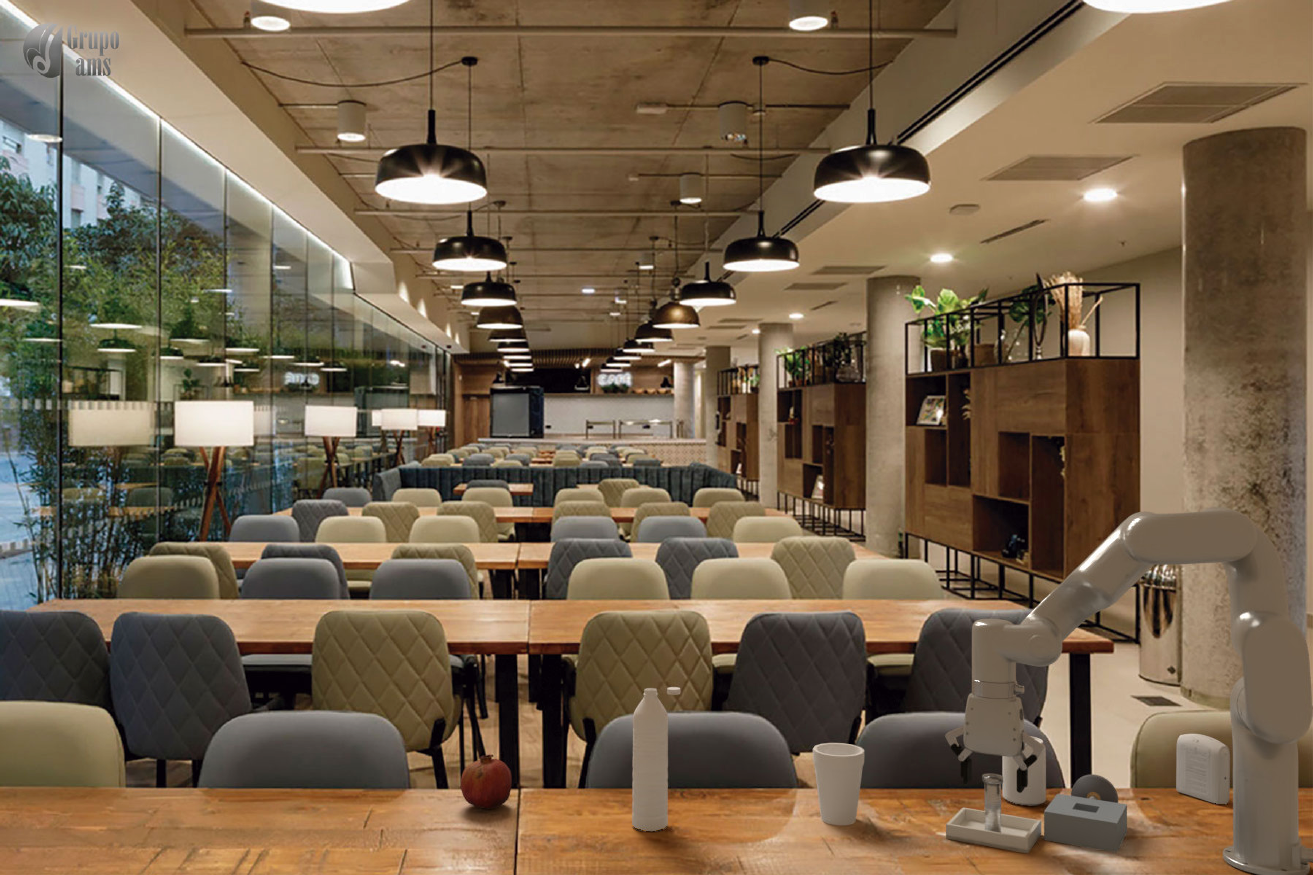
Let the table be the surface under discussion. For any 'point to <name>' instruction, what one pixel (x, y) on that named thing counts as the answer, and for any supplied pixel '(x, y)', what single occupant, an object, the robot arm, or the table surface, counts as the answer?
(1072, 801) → the tensioner block
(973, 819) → the tray
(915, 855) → the table surface
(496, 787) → the fruit
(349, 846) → the table surface
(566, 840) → the table surface
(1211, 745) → the photo printer
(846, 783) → the foam cup
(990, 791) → the lock pin
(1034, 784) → the beverage can
